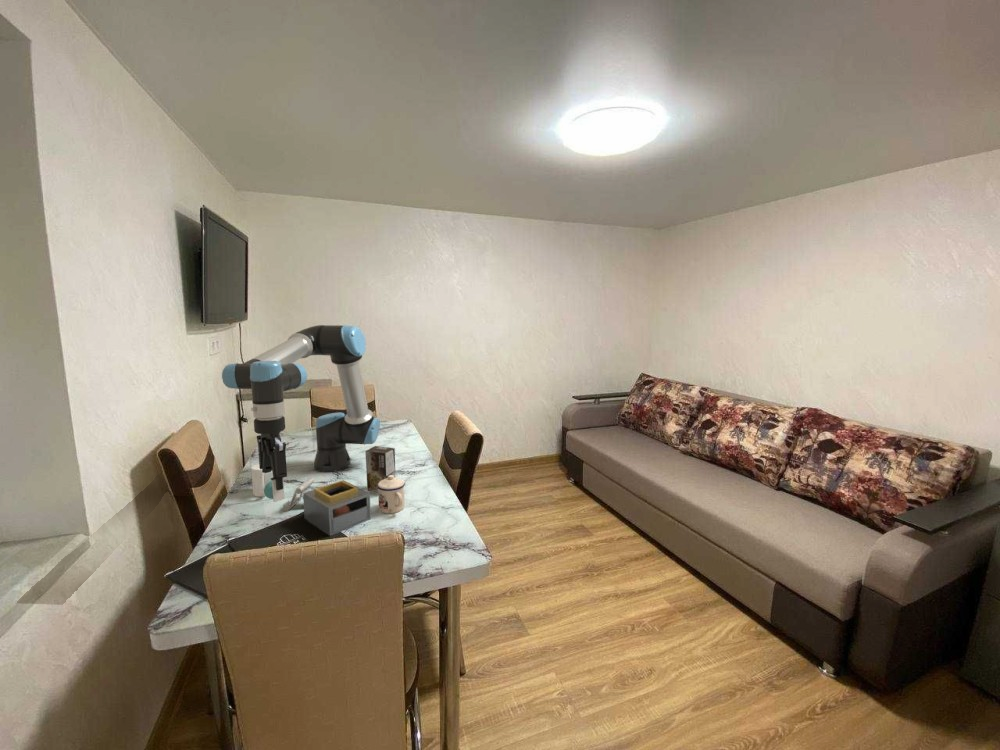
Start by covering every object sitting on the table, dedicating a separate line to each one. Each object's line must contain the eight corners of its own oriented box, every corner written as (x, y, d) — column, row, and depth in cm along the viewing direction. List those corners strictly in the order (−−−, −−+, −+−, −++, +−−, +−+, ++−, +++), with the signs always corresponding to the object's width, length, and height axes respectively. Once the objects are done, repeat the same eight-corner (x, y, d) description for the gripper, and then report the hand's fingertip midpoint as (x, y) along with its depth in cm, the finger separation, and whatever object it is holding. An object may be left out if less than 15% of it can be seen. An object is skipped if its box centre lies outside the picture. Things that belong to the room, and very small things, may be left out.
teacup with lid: (373, 507, 143) (372, 474, 142) (398, 500, 149) (397, 469, 147) (388, 520, 134) (387, 486, 132) (413, 512, 140) (413, 479, 138)
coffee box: (396, 488, 159) (395, 448, 157) (386, 495, 153) (385, 453, 151) (376, 485, 162) (375, 445, 160) (366, 491, 156) (364, 450, 154)
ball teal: (261, 498, 117) (260, 481, 116) (280, 492, 120) (278, 476, 120) (268, 503, 114) (267, 486, 113) (287, 497, 117) (286, 480, 117)
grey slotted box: (304, 519, 134) (302, 488, 132) (344, 504, 144) (343, 476, 143) (330, 536, 124) (328, 503, 122) (370, 519, 134) (369, 488, 133)
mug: (276, 460, 158) (277, 470, 148) (278, 486, 160) (279, 497, 149) (251, 464, 154) (250, 474, 144) (253, 490, 156) (252, 502, 145)
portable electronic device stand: (296, 500, 148) (295, 477, 147) (317, 500, 148) (316, 478, 147) (283, 511, 140) (281, 487, 138) (306, 511, 139) (304, 488, 138)
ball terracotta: (329, 507, 132) (336, 507, 128) (343, 502, 135) (351, 502, 132) (332, 523, 131) (340, 523, 128) (346, 517, 135) (354, 517, 132)
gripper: (241, 414, 117) (248, 492, 120) (268, 425, 105) (274, 511, 108) (270, 409, 122) (275, 484, 126) (298, 420, 111) (302, 501, 114)
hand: (274, 496), depth 117 cm, fingers closed on ball teal, 5 cm apart
